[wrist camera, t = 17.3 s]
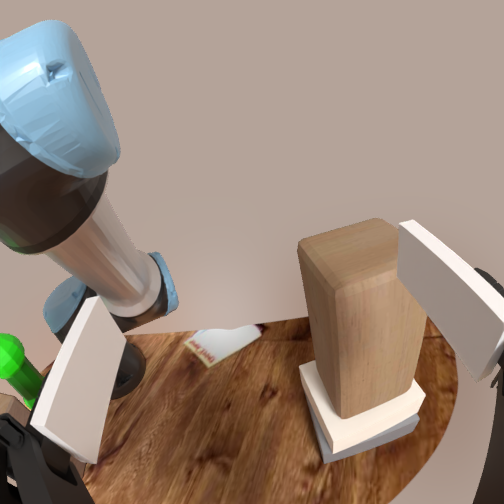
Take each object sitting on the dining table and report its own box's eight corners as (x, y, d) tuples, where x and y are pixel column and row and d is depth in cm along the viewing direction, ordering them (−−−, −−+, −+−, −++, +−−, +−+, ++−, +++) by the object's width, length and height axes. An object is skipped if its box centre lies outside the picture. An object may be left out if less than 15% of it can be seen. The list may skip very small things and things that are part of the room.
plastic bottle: (60, 381, 54) (0, 303, 42) (67, 409, 46) (-5, 326, 34) (34, 398, 49) (-29, 324, 37) (39, 427, 41) (-36, 349, 29)
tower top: (302, 384, 40) (298, 365, 38) (376, 353, 42) (378, 333, 39) (332, 454, 29) (333, 441, 27) (417, 412, 30) (425, 394, 28)
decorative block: (89, 456, 36) (14, 395, 26) (83, 480, 31) (1, 423, 21) (52, 446, 37) (-15, 387, 27) (46, 467, 32) (-27, 410, 22)
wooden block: (315, 368, 37) (292, 237, 28) (378, 343, 37) (378, 212, 29) (339, 424, 28) (331, 290, 19) (412, 392, 28) (439, 250, 20)
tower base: (304, 393, 44) (301, 377, 42) (380, 368, 44) (383, 351, 41) (323, 464, 32) (323, 454, 29) (411, 432, 32) (419, 419, 29)
